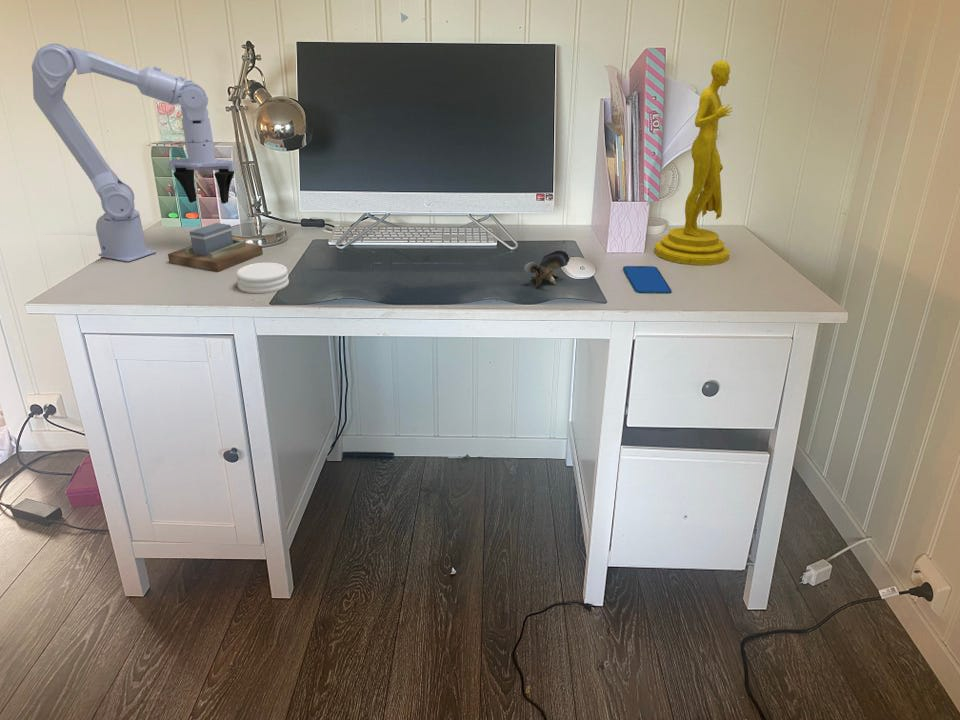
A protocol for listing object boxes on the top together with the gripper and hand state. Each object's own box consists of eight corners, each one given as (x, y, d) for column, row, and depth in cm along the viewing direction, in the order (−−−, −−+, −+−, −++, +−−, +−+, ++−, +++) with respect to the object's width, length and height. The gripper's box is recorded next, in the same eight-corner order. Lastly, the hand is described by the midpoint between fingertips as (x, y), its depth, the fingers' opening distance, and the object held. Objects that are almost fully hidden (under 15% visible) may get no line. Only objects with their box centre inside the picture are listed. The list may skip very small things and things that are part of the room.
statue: (719, 270, 153) (753, 63, 135) (644, 257, 160) (666, 60, 142) (736, 250, 166) (768, 60, 148) (665, 239, 173) (688, 57, 155)
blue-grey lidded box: (193, 254, 154) (189, 231, 151) (220, 244, 160) (216, 222, 158) (207, 256, 152) (203, 233, 150) (234, 246, 159) (230, 224, 157)
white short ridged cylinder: (230, 284, 143) (228, 267, 142) (277, 274, 149) (275, 258, 147) (249, 298, 136) (246, 281, 134) (297, 287, 141) (295, 271, 140)
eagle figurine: (562, 287, 139) (577, 266, 145) (543, 257, 137) (559, 237, 143) (533, 300, 144) (549, 279, 150) (514, 271, 142) (531, 251, 148)
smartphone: (635, 291, 139) (622, 265, 152) (635, 296, 140) (621, 270, 153) (673, 292, 139) (656, 266, 152) (672, 296, 140) (655, 270, 153)
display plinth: (169, 262, 154) (166, 249, 153) (216, 246, 166) (214, 233, 165) (218, 271, 149) (215, 258, 148) (262, 254, 161) (261, 241, 159)
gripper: (158, 142, 152) (170, 205, 158) (222, 144, 151) (232, 207, 157) (174, 137, 159) (185, 198, 165) (236, 139, 157) (244, 199, 163)
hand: (209, 202), depth 161 cm, fingers open, 7 cm apart
